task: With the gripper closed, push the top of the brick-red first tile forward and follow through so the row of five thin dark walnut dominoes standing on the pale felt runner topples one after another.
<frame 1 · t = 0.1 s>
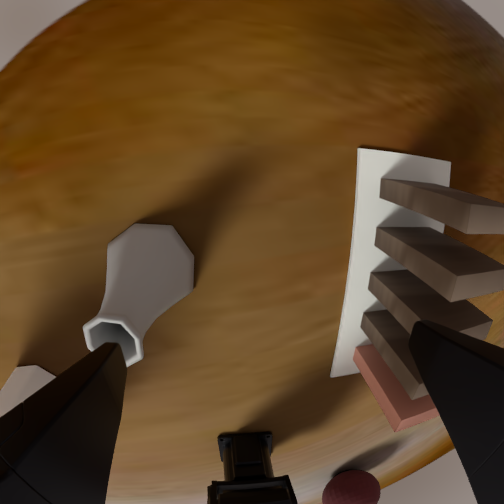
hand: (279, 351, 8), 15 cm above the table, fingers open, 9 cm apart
domino 1: (379, 348, 27), resting on runner
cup: (50, 395, 26), on the table
flask: (151, 265, 22), on the table
domino 2: (388, 315, 26), resting on runner
domino 3: (396, 278, 24), resting on runner
decorative ball: (343, 473, 38), on the table
domino 4: (403, 235, 23), resting on runner
runner: (394, 276, 25), on the table
domino 5: (409, 190, 22), resting on runner
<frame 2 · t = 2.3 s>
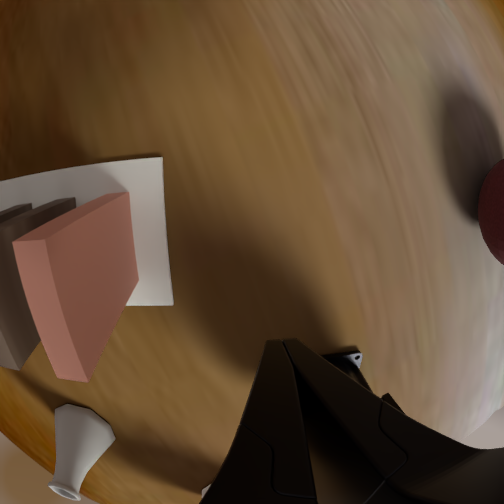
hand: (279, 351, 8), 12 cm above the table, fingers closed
domino 1: (122, 238, 18), resting on runner
flask: (85, 421, 25), on the table
domino 2: (71, 240, 17), resting on runner
domino 3: (30, 243, 17), resting on runner
decorative ball: (487, 200, 21), on the table
runner: (32, 241, 17), on the table
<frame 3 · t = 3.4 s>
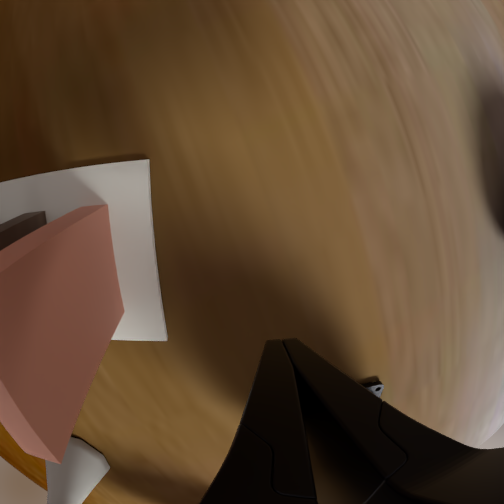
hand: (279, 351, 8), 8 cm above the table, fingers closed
domino 1: (101, 261, 14), resting on runner
flask: (77, 449, 21), on the table
domino 2: (43, 263, 14), resting on runner
runner: (3, 262, 14), on the table
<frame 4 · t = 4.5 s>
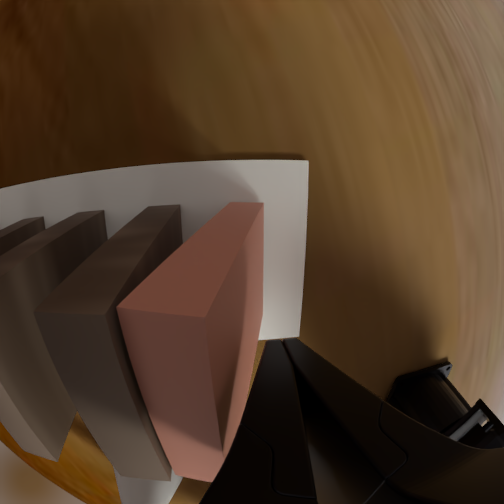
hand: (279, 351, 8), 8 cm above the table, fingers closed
domino 1: (247, 261, 15), point 1 cm above the table, tilted 13°, touching runner
flask: (148, 461, 22), on the table
domino 2: (169, 263, 15), resting on runner
domino 3: (99, 266, 14), resting on runner
domino 4: (43, 267, 14), resting on runner
runner: (101, 263, 15), on the table
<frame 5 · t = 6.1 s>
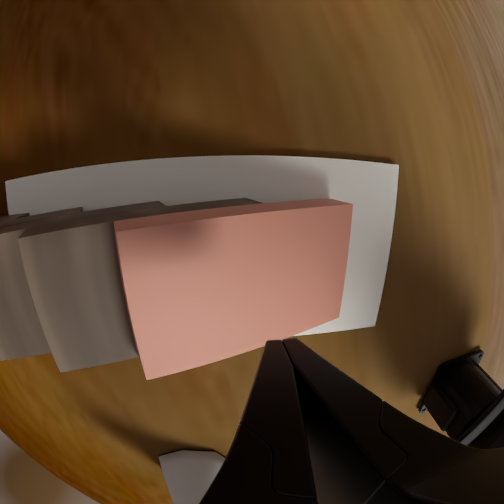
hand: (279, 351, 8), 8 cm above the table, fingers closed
domino 1: (335, 259, 15), point 1 cm above the table, tilted 67°, touching domino 2, runner
flask: (196, 463, 22), on the table
domino 2: (253, 262, 14), point 1 cm above the table, tilted 67°, touching domino 1, domino 3, runner
domino 3: (167, 265, 14), point 1 cm above the table, tilted 67°, touching domino 2, domino 4, runner
domino 4: (90, 267, 13), point 1 cm above the table, tilted 67°, touching domino 3, domino 5
runner: (190, 256, 15), on the table
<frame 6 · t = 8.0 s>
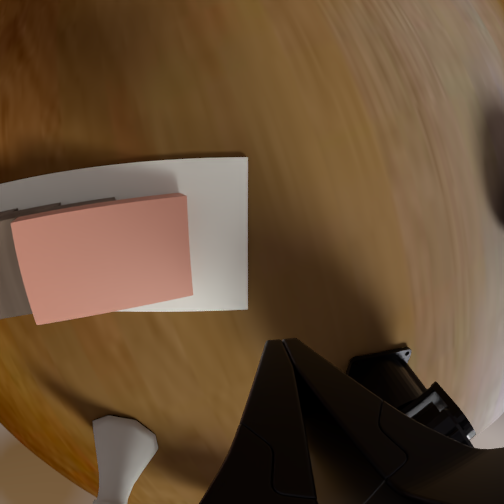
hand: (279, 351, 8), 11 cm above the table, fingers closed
domino 1: (185, 244, 17), point 1 cm above the table, tilted 67°, touching domino 2, runner
flask: (126, 432, 25), on the table
domino 2: (120, 246, 17), point 1 cm above the table, tilted 67°, touching domino 1, domino 3, runner
runner: (85, 243, 18), on the table
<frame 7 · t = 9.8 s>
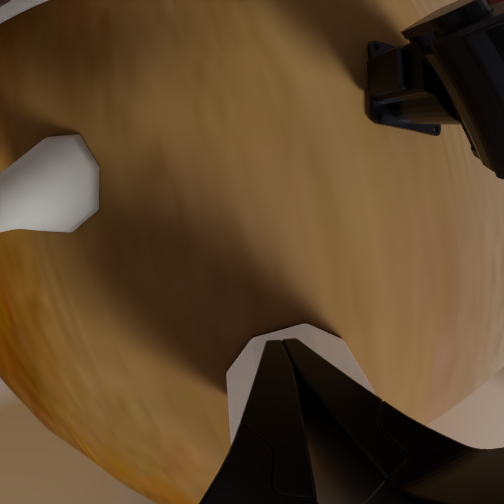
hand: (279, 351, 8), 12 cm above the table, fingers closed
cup: (288, 372, 25), on the table
flask: (60, 183, 17), on the table
decorative ball: (490, 1, 13), on the table
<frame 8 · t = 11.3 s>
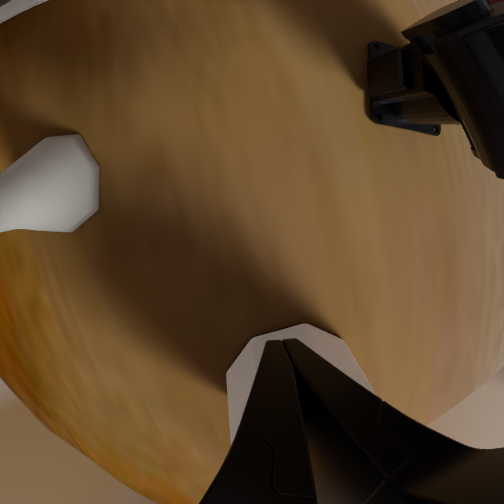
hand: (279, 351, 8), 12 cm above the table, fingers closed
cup: (288, 372, 25), on the table
flask: (60, 183, 17), on the table
decorative ball: (491, 1, 13), on the table
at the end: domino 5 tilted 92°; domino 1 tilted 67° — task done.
